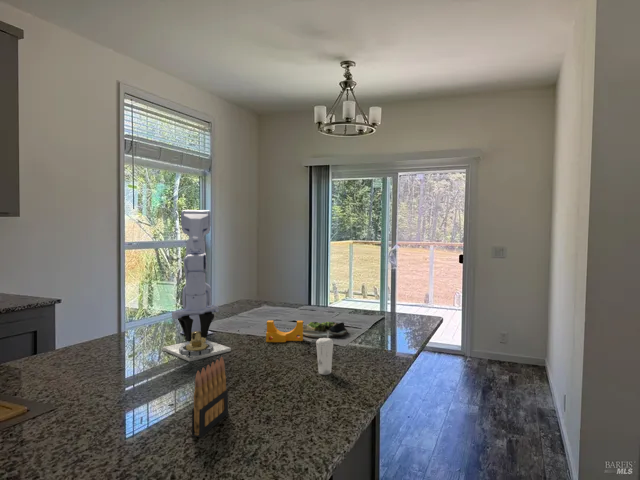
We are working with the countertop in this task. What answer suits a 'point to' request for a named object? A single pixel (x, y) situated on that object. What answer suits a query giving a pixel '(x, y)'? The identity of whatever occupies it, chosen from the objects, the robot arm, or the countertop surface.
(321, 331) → the salad plate
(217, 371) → the ammunition clip
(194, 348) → the flanged cylinder knob
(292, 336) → the pipe clamp
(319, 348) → the milkshake
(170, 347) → the carrier
